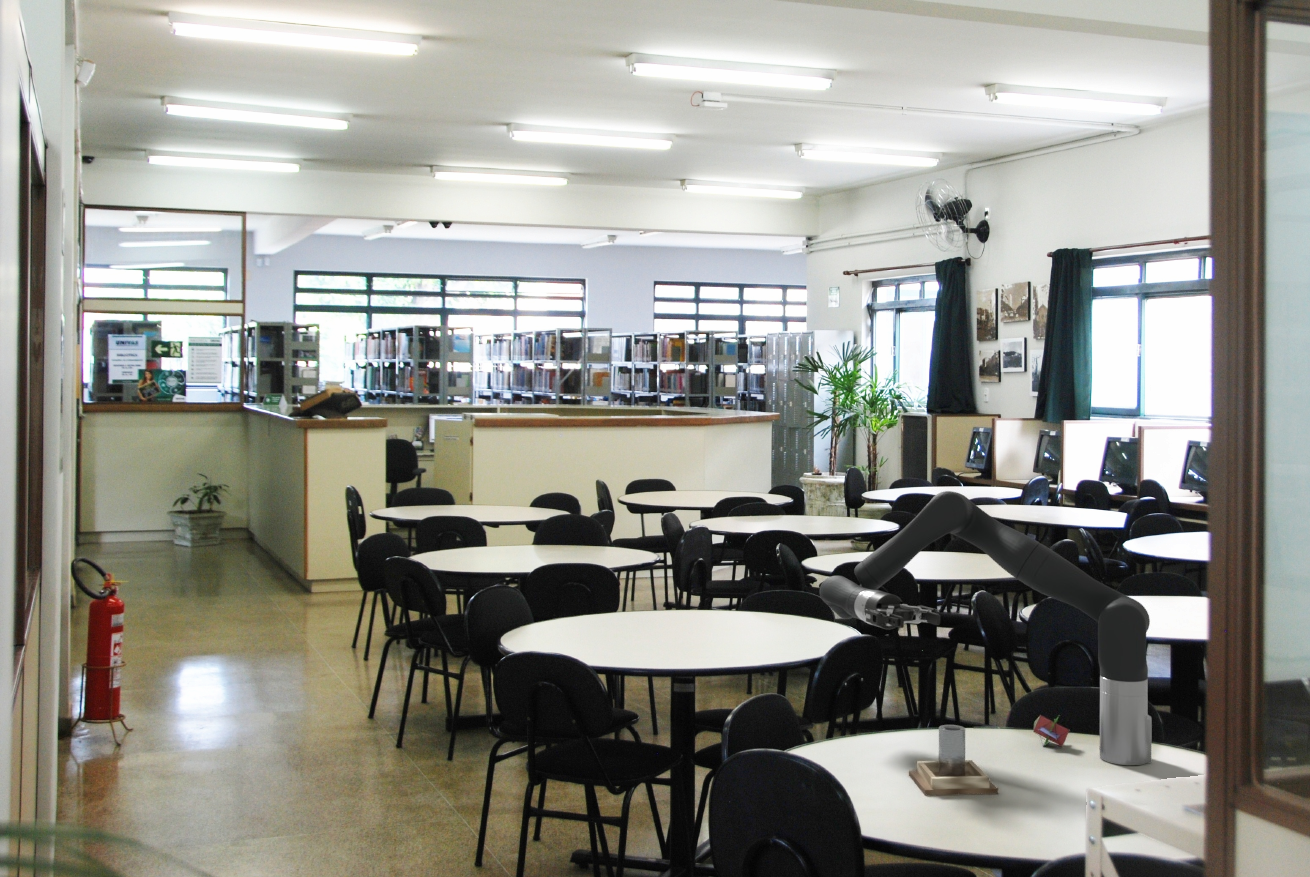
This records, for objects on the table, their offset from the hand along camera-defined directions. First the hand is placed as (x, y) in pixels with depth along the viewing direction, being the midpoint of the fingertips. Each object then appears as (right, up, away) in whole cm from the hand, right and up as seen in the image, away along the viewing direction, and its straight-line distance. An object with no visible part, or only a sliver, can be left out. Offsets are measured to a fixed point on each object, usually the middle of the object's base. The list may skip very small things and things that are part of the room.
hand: (920, 621), depth 239 cm
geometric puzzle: (+32, -30, +16) cm, 47 cm away
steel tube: (+4, -29, -10) cm, 31 cm away
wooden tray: (+4, -30, -10) cm, 32 cm away
